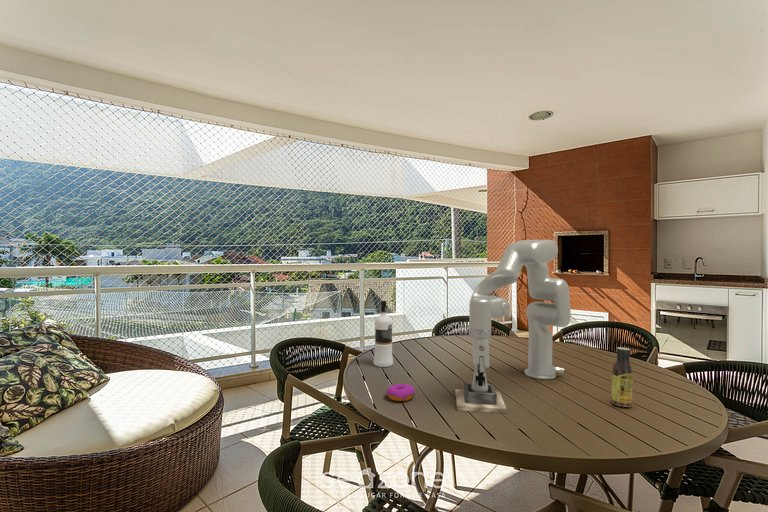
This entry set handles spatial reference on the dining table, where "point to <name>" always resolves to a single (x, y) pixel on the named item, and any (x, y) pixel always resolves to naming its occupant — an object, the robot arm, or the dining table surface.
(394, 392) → the donut
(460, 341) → the dining table surface
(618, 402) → the sauce bottle
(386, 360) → the vodka
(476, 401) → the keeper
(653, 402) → the dining table surface
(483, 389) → the salt shaker
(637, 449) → the dining table surface
